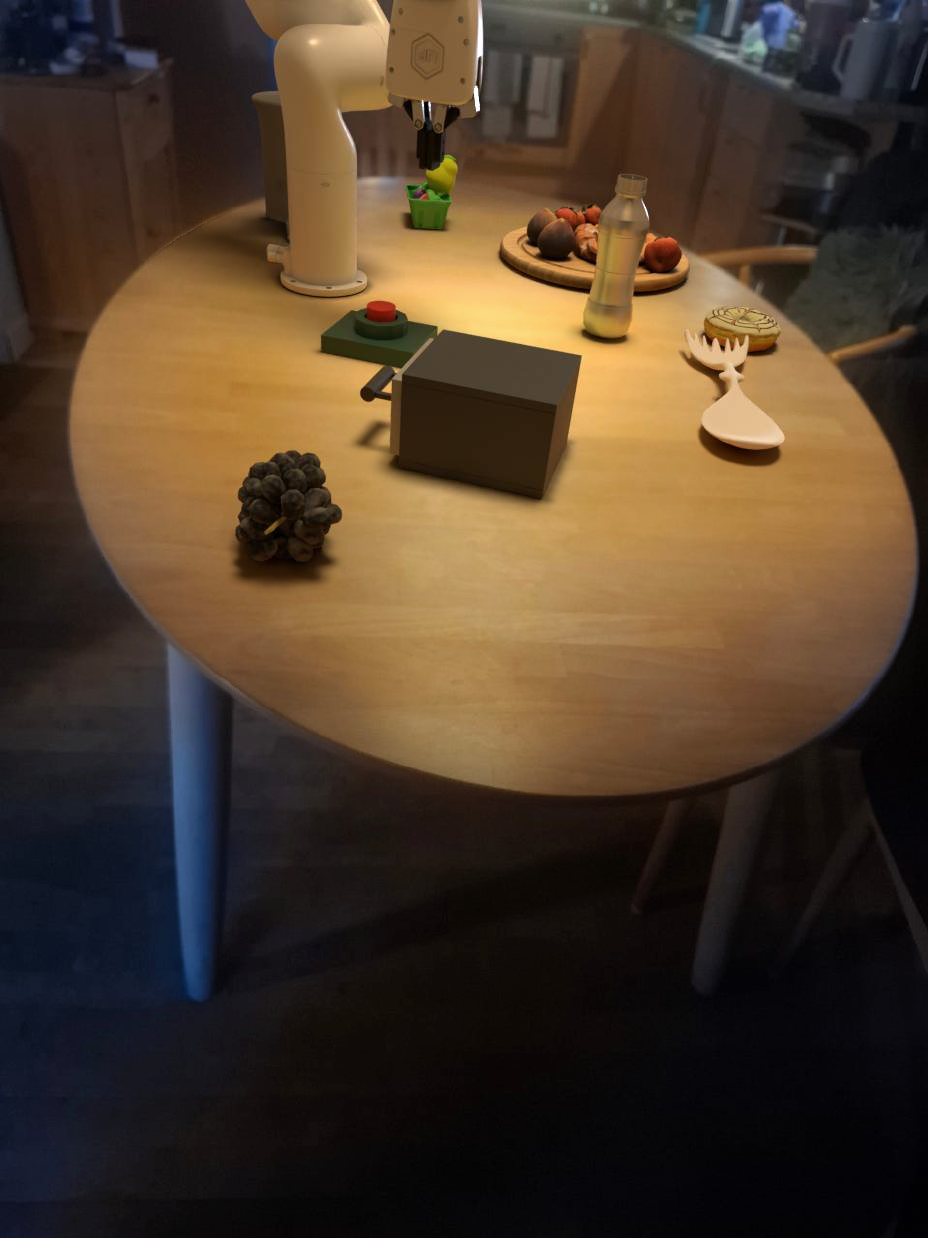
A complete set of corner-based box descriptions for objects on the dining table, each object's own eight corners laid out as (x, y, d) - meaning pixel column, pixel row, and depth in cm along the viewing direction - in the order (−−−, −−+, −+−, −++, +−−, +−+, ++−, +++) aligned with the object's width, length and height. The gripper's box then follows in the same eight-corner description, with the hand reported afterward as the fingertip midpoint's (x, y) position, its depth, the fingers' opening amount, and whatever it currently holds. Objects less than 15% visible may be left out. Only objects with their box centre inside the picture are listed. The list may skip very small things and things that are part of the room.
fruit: (260, 395, 75) (248, 477, 63) (350, 424, 78) (355, 509, 66) (235, 478, 80) (220, 569, 68) (321, 503, 83) (321, 595, 71)
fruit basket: (403, 212, 161) (406, 145, 154) (450, 215, 163) (455, 149, 155) (407, 229, 153) (410, 159, 145) (456, 232, 154) (462, 162, 147)
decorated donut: (786, 341, 124) (795, 315, 121) (760, 361, 116) (768, 334, 114) (718, 321, 128) (726, 295, 125) (689, 339, 121) (696, 312, 118)
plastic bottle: (627, 346, 117) (659, 186, 104) (577, 339, 117) (604, 178, 105) (629, 330, 122) (660, 175, 109) (582, 323, 122) (608, 168, 110)
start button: (362, 321, 106) (362, 307, 105) (372, 312, 109) (372, 298, 108) (389, 326, 106) (390, 312, 105) (399, 317, 108) (400, 303, 107)
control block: (320, 352, 107) (320, 320, 104) (351, 326, 114) (351, 295, 112) (412, 370, 105) (413, 338, 102) (437, 342, 112) (439, 312, 110)
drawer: (349, 444, 87) (348, 369, 82) (389, 400, 95) (391, 330, 90) (520, 482, 84) (531, 406, 79) (545, 432, 92) (556, 361, 87)
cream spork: (743, 356, 117) (750, 332, 115) (787, 468, 92) (797, 439, 90) (677, 348, 118) (683, 323, 116) (703, 458, 93) (711, 428, 91)
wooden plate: (727, 283, 143) (741, 230, 138) (582, 306, 128) (592, 248, 123) (601, 230, 163) (609, 183, 158) (462, 245, 148) (466, 193, 143)
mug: (333, 247, 141) (331, 68, 125) (244, 237, 141) (231, 57, 126) (354, 218, 156) (354, 54, 140) (273, 209, 156) (264, 45, 140)
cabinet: (398, 467, 86) (401, 373, 80) (437, 415, 96) (442, 328, 89) (542, 498, 83) (557, 404, 77) (567, 442, 93) (582, 355, 87)
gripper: (360, -34, 88) (358, 163, 100) (498, -16, 86) (480, 184, 97) (388, -35, 94) (383, 152, 106) (518, -18, 91) (498, 172, 103)
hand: (429, 167), depth 101 cm, fingers closed
